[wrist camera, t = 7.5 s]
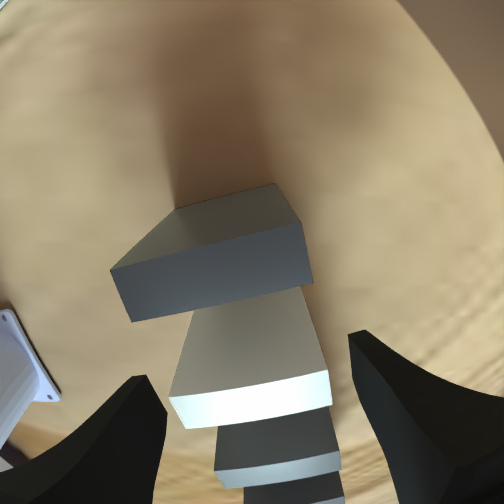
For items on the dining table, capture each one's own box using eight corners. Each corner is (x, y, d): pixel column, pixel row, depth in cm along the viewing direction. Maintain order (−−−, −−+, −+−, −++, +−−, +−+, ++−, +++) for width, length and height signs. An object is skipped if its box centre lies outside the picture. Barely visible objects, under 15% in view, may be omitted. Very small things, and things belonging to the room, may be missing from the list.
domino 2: (232, 378, 19) (225, 488, 11) (225, 358, 18) (213, 471, 11) (313, 361, 18) (341, 469, 11) (309, 340, 18) (339, 450, 10)
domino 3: (250, 423, 20) (251, 523, 13) (244, 409, 20) (243, 512, 12) (322, 409, 20) (345, 507, 12) (319, 394, 19) (344, 496, 12)
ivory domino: (209, 317, 17) (186, 428, 10) (200, 291, 17) (168, 397, 9) (300, 297, 17) (332, 404, 9) (294, 269, 17) (327, 369, 9)
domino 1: (184, 240, 16) (131, 322, 8) (174, 209, 15) (109, 270, 8) (282, 215, 16) (313, 282, 8) (274, 183, 15) (300, 221, 8)
